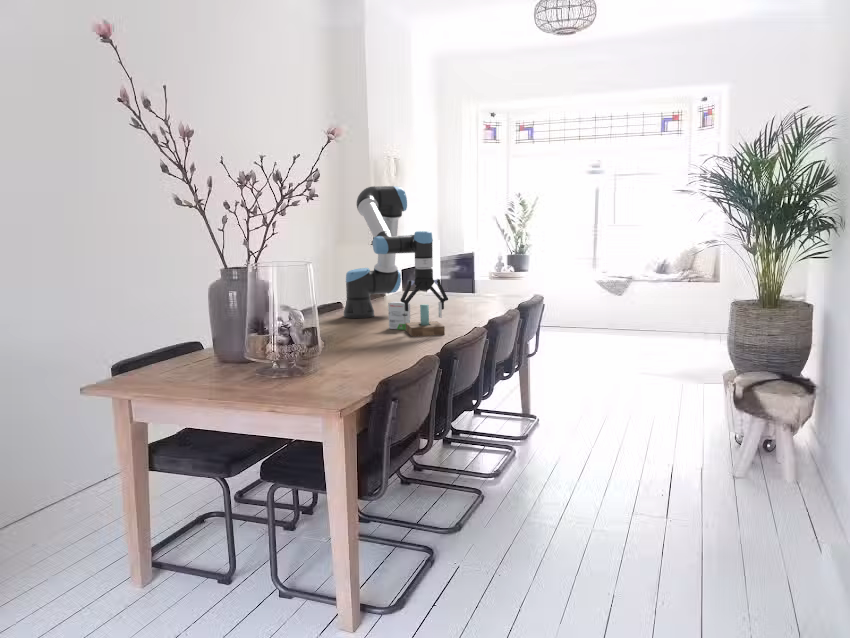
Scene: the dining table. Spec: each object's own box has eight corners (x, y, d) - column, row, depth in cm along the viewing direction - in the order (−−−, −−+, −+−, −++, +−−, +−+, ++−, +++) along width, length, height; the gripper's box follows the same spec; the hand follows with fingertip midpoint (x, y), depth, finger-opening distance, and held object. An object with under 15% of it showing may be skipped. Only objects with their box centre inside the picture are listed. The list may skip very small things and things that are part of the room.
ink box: (410, 328, 312) (410, 302, 310) (405, 330, 308) (404, 303, 306) (394, 327, 317) (393, 301, 315) (388, 328, 312) (387, 302, 310)
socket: (405, 330, 307) (405, 322, 306) (437, 329, 309) (437, 321, 309) (411, 336, 293) (411, 328, 292) (444, 334, 296) (444, 326, 295)
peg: (420, 332, 302) (419, 304, 301) (428, 331, 303) (427, 304, 301) (421, 333, 299) (421, 305, 297) (430, 333, 300) (429, 305, 298)
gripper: (396, 270, 291) (397, 320, 294) (454, 267, 296) (455, 317, 299) (393, 268, 298) (394, 318, 301) (450, 266, 303) (450, 315, 306)
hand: (424, 318), depth 300 cm, fingers open, 13 cm apart
